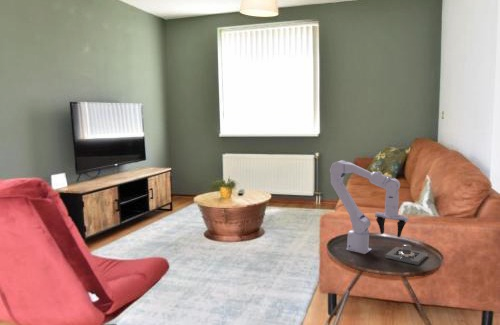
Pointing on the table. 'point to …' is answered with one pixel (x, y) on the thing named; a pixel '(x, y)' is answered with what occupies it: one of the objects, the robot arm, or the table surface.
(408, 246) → the planet gear
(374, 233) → the table surface
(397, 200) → the robot arm
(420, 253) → the carrier plate
